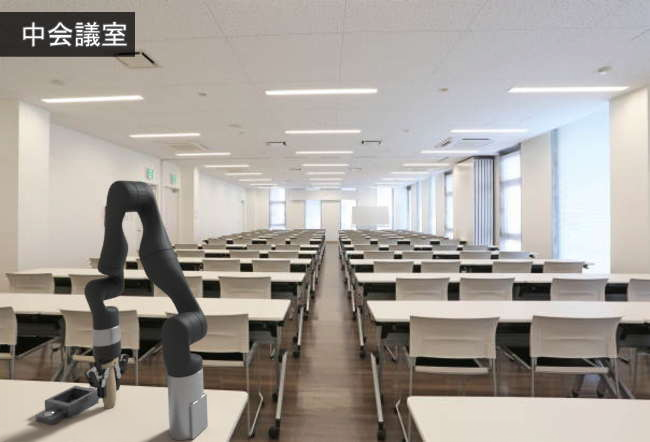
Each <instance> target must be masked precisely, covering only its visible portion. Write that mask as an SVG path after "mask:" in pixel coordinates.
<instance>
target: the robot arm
mask: <svg viewBox="0 0 650 442" xmlns="http://www.w3.org/2000/svg"><path fill="white" fill-rule="evenodd" d="M106 195H107V196H106V202H105V204H106V206H105V217H104V235H103V242H102V247H101V251H100V255H99V258H98V261H97V271H98V272H99V273H100V274H101V275H105V276H106V277H101V278H95V279H91V280H89V281H88V282H87V283H86V284H85V286H84V291H83V293H84V297H85V300H86V301H87V302H86V303H87V305H88V308H89V310H90V314H91V316H92V334H91V335H92V355H93V356H92V357H93V359H94V363H93V366H92V368H90V369H89V370H88V369H87V370H85V371H84V376H85V378H86V380H87V382H88V385H89V387H91V388H97V396H98V397H99V398H100V399H102V398H105V397H106V386H105V383H106V379H107V378H108V373H109V369H110V368H106V369H102V367H101V365H102V364H104V363H107V362H109V361H111V360H113V359H115V358H117V357H118V360H117V364H116V365H115V366H114V371H115V380H116V392H117V391H120V387H121V377H122V376H123V375H125V374H126V371H127V367H128V363H129V360H130V359H129V357H130V355H129V354H126V353H122V337H121V336H122V335H121V334H122V333H121V326H120V313H119V308H118V306H114V305H108V306H107V305H106V304H105V303H104V302H105V301H108V300H113V299H115V298H117V297H119V296H120V295H122V294H123V292H124V290H125V272H124V270H125V269H124V268H125V266H126V265H125V264H126V262H127V258H128V253H129V242H128V240H127V237H126V236H125V231H124V228H123V220H124V218H125V216H126V213H137V215H138V217H139V219H140V222H141V226H142V235H141V240H140V243H139V247H138V248H139V249H138V257H139V261H140V263H141V267H142V268H143V271H144V274H145V275H146V277H147V279H148V281H150V282H151V283H152V284H153V285H154V286H155V287H156V288H158V289H159V290H161V292H163V293H164V294H165V295H166V296H168V297H169V299H170V300H171V302H172V303H173V305H174V307H175V309H176V311H177V314H175V315H172V316H169V317H168V318H167V319H166V320H164V322H163V324H162V327H161V343H162V344H161V345H162V353H163V362H164V364H165V367H166V371H167V374H166V375H167V395H168V396H167V398H168V399H167V401H168V402H167V403H168V421H169V422H168V424H169V437H170V438H171V439H173V440H175V441H185V440H194V439H195V438H196V437H198V436H199V435H200V433H202V432H203V431H204V430H205V429H206V428H207V427H208V426H209V425H208V424H209V423H208V422H209V421H208V396H207V393H205V392H204V364H203V363H204V362H203V357H202V356H201V355H199V354H197V353H191V345H193V344H195V343H197V342H199V341H201V340H202V339H204V338H205V337H206V336H207V333H208V322H207V318H206V316H205V313H204V311H203V310H202V308H201V306H200V304H199V303H198V300H197V299H196V297H195V295H194V293H193V291H192V289H191V288H190V285H189V282H188V281H187V278H186V275H185V274H184V272H183V270H182V267H181V265H180V262H179V259H178V255H177V254H176V251H175V249H174V247H173V244H172V242H171V240H170V237H169V235H168V233H167V230H166V228H165V224H164V222H163V219H162V217H161V212H160V209H159V205H158V201H157V199H156V195H155V193H154V191H153V189H152V187H151V185H150V184H148V183H146V182H145V181H135V180H116V181H114V182H112V184H110V186H109V188H108V191H107V194H106ZM121 353H122V354H121ZM102 374H104V375H102Z"/></svg>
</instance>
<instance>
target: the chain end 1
mask: <svg viewBox="0 0 650 442" xmlns="http://www.w3.org/2000/svg"><path fill="white" fill-rule="evenodd" d="M73 401H75V393H74V388H73V386H72V387H69V388H67V389H65V390H63V391H61V392H59V393H57V394H55V395H53V396H51V397H48V398H47V399H45V400H44V410H43V411H41V412H39V413H38V414H37V413H36V415H35V422H37V423H42V424H45V425H49V426H53V425H56V424H57V423H59V422H61V421H63V420H64V419H66V420H70V419H72V418H74V417H73V407H72V404H70V403H71V402H73Z"/></svg>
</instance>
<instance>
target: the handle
mask: <svg viewBox="0 0 650 442" xmlns="http://www.w3.org/2000/svg"><path fill="white" fill-rule="evenodd" d="M117 360H118V357H117V358H115V359H113V360H111V361H109V362H107V363H104V364H102V365H101V367H102V369H106V368H110V369H109V373H108V378H107V379H106V383H105V386H106V397H105V398H101V399H102V403H103V408H104V410H106V409H107V410H110V409H112V408H114V407H115V406H116V403H117V391H116V380H115V371H114V366H115V365H116V364H117ZM102 375H104V374H102Z"/></svg>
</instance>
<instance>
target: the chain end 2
mask: <svg viewBox="0 0 650 442" xmlns="http://www.w3.org/2000/svg"><path fill="white" fill-rule="evenodd" d="M72 387H73V388H74V393H75V400H73V401H71V402H70V404H72V407H73V417H72V418H74V417H75V416H77V415H79V414H81V413H82V412H84V411H86V410H88V409H90V408H91V407H93V406H95V405H96V404H99V402H100V401H99V400H100V399H101V398H99V397H98V396H97V388H94V387H90V386H89V387H83V386H79V385H73V386H72Z"/></svg>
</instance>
